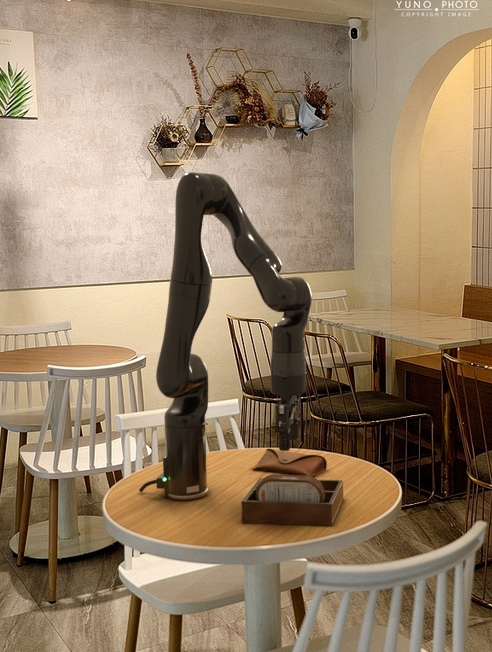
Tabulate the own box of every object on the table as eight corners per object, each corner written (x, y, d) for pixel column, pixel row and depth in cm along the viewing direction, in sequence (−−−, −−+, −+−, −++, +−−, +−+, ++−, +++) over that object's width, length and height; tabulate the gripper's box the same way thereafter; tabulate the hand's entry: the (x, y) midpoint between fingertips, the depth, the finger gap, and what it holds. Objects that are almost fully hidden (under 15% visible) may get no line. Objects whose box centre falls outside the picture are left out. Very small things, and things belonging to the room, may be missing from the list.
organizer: (241, 523, 188) (241, 501, 187) (260, 497, 204) (259, 477, 203) (332, 525, 186) (331, 504, 185) (343, 500, 202) (343, 480, 201)
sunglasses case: (250, 468, 224) (256, 443, 227) (262, 475, 230) (268, 450, 233) (312, 476, 217) (318, 450, 220) (323, 483, 224) (329, 458, 226)
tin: (325, 511, 191) (325, 474, 190) (323, 516, 188) (322, 479, 187) (258, 509, 193) (257, 472, 192) (254, 514, 190) (253, 477, 188)
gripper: (278, 364, 194) (279, 435, 196) (263, 377, 180) (263, 453, 182) (311, 365, 193) (312, 436, 195) (299, 378, 179) (299, 455, 181)
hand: (288, 444), depth 189 cm, fingers open, 8 cm apart
